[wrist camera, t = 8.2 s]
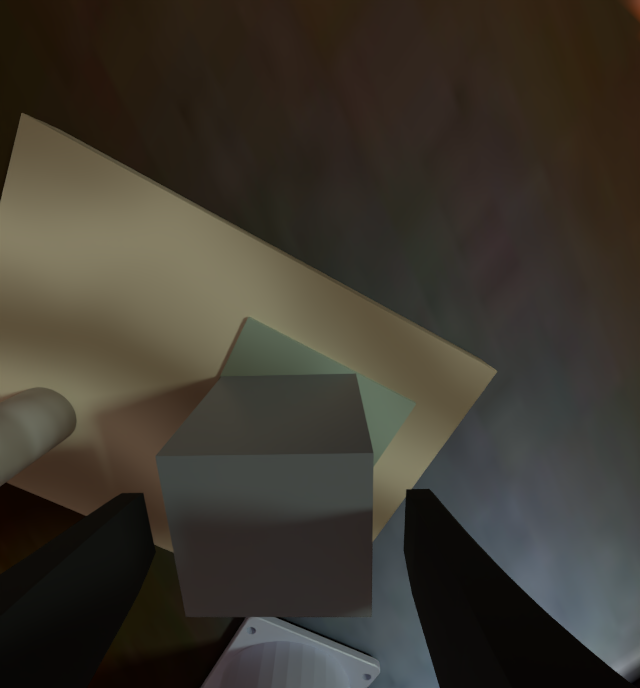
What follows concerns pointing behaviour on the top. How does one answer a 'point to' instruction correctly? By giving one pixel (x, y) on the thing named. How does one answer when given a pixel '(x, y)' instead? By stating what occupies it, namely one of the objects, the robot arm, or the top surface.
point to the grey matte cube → (272, 499)
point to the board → (179, 333)
